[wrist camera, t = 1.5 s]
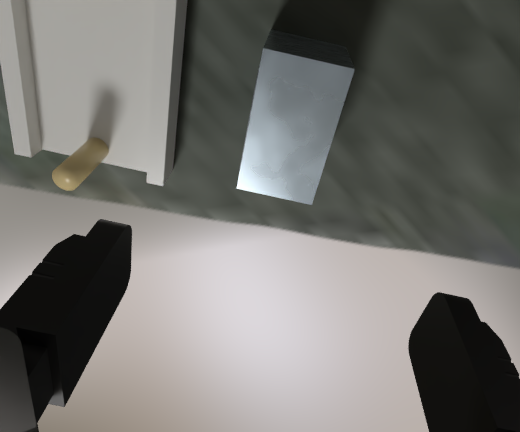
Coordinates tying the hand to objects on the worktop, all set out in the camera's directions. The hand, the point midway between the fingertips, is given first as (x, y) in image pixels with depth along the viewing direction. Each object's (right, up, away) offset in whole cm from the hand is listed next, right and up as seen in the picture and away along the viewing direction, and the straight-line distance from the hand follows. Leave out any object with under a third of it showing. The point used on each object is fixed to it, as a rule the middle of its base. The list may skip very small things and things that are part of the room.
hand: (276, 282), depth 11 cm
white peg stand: (-9, +11, +12) cm, 19 cm away
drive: (+1, +8, +13) cm, 15 cm away
